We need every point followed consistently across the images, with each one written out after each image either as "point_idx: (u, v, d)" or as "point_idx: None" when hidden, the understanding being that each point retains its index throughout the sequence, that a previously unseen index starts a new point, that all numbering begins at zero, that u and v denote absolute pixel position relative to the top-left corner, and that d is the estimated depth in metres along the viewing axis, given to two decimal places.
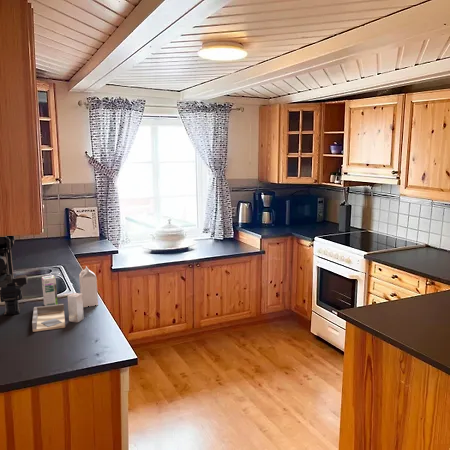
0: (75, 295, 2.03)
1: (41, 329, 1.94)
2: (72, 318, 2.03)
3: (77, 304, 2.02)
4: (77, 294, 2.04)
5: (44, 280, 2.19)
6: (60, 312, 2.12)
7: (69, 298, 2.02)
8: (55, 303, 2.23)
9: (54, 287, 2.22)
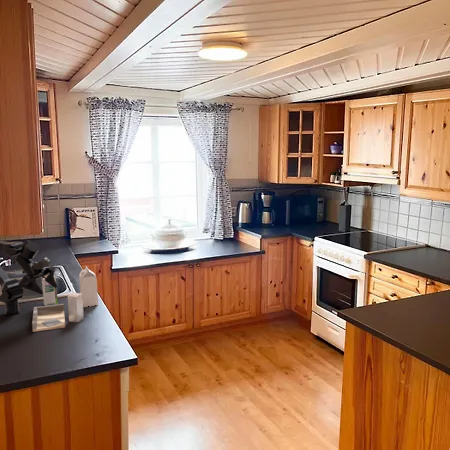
0: (75, 295, 2.03)
1: (41, 329, 1.94)
2: (72, 318, 2.03)
3: (77, 304, 2.02)
4: (77, 294, 2.04)
5: (44, 280, 2.19)
6: (60, 312, 2.12)
7: (69, 298, 2.02)
8: (55, 303, 2.23)
9: None
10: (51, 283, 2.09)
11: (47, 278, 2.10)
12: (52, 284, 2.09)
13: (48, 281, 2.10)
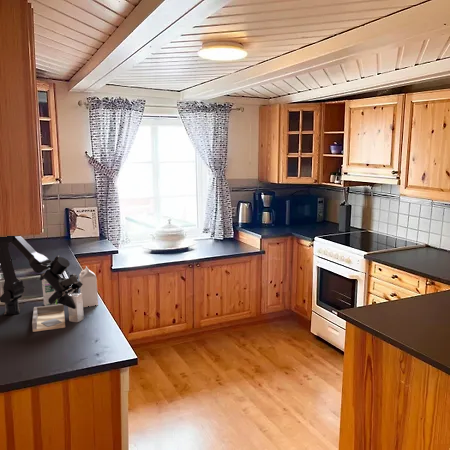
0: (75, 295, 2.03)
1: (41, 329, 1.94)
2: (72, 317, 2.03)
3: (77, 304, 2.02)
4: (77, 294, 2.04)
5: (44, 280, 2.19)
6: (60, 312, 2.12)
7: (69, 298, 2.02)
8: (55, 303, 2.23)
9: None
10: None
11: None
12: None
13: None
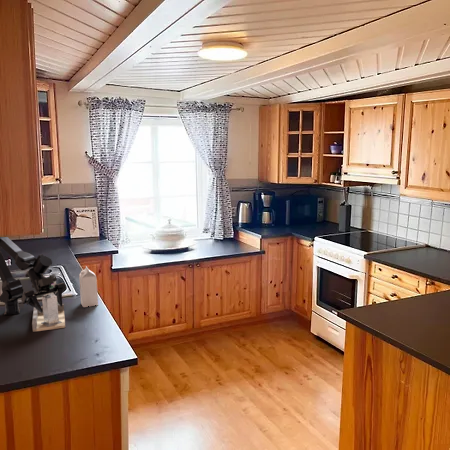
0: (48, 297, 1.97)
1: (41, 329, 1.94)
2: (46, 319, 1.98)
3: (49, 306, 1.96)
4: (51, 296, 1.98)
5: None
6: (60, 312, 2.12)
7: (43, 299, 1.97)
8: None
9: None
10: (58, 301, 2.03)
11: (56, 295, 2.04)
12: (59, 302, 2.03)
13: (57, 298, 2.04)
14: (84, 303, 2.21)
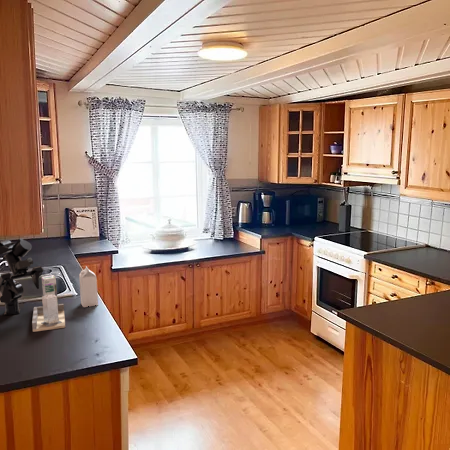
0: (48, 297, 1.97)
1: (41, 329, 1.94)
2: (46, 319, 1.98)
3: (49, 306, 1.96)
4: (51, 296, 1.98)
5: (44, 280, 2.19)
6: (60, 312, 2.12)
7: (43, 299, 1.97)
8: None
9: (54, 287, 2.22)
10: (35, 283, 2.09)
11: (33, 278, 2.10)
12: (35, 285, 2.08)
13: (34, 281, 2.10)
14: (84, 303, 2.21)
